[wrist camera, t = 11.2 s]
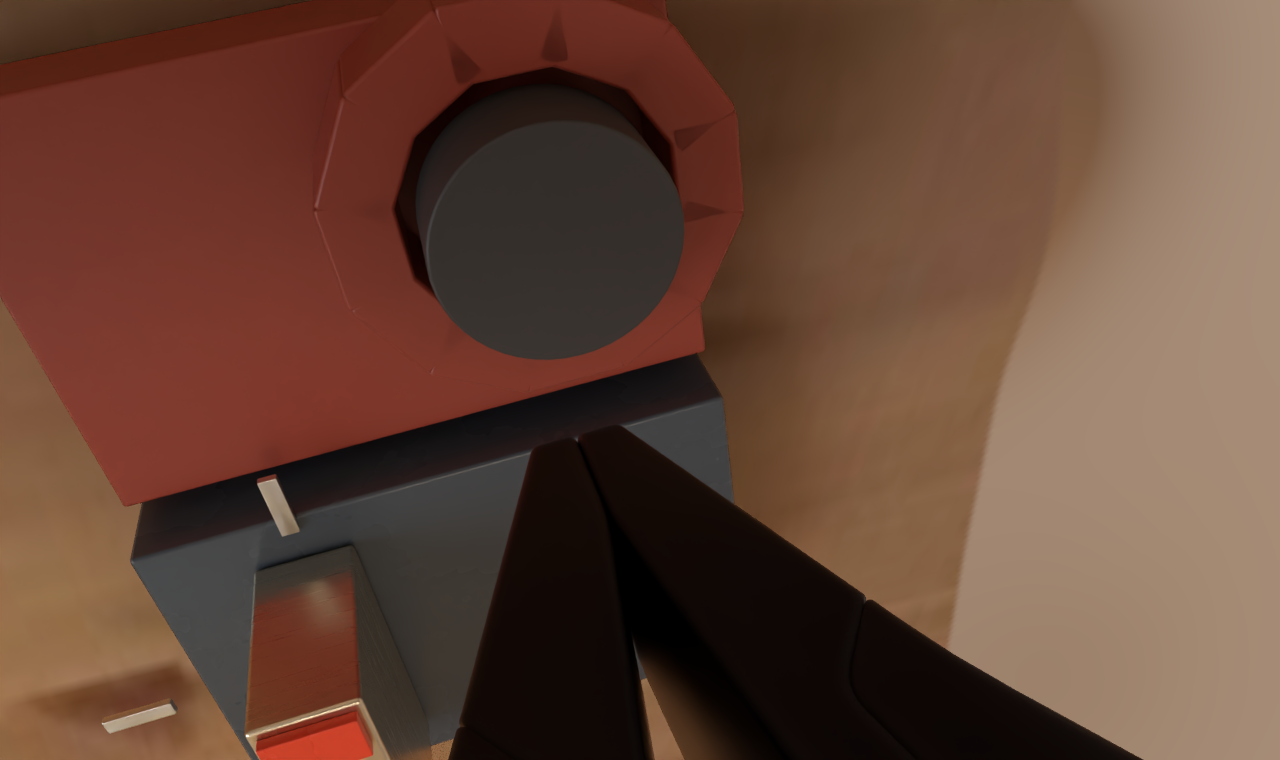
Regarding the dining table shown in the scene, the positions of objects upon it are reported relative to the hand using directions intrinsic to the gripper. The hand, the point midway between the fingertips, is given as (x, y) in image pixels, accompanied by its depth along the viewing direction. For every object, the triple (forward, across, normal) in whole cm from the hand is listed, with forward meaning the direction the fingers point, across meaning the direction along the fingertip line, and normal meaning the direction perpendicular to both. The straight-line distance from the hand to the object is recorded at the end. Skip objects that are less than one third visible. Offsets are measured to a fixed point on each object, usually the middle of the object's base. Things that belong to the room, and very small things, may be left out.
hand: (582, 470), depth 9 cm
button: (+8, -1, +1) cm, 8 cm away
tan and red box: (+9, +5, +11) cm, 15 cm away
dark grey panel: (+12, +3, +11) cm, 16 cm away
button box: (+12, +2, +2) cm, 12 cm away
